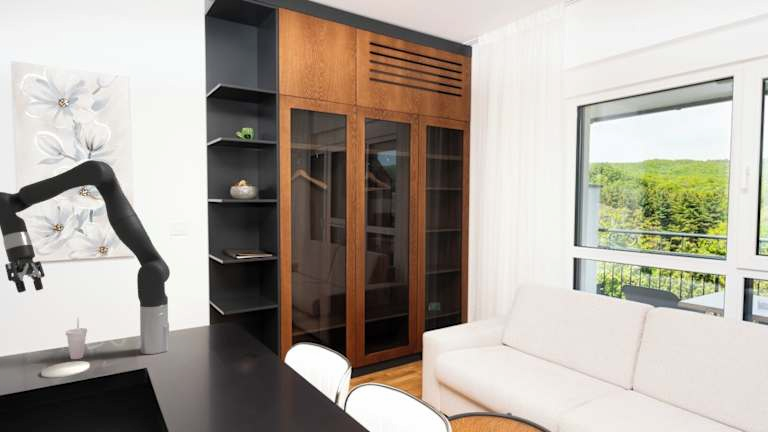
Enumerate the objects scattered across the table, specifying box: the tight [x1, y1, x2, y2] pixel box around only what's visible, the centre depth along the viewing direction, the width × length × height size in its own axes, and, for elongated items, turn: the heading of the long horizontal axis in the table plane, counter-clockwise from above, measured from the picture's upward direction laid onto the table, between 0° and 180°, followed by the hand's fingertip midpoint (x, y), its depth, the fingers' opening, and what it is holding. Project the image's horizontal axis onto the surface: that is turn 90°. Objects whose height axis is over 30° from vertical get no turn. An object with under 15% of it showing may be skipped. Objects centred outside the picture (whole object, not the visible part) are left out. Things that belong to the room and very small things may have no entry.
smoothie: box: [65, 317, 88, 360], centre depth 162 cm, size 6×6×14 cm
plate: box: [40, 360, 91, 379], centre depth 149 cm, size 13×13×1 cm
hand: (31, 290), depth 160 cm, fingers open, 8 cm apart
